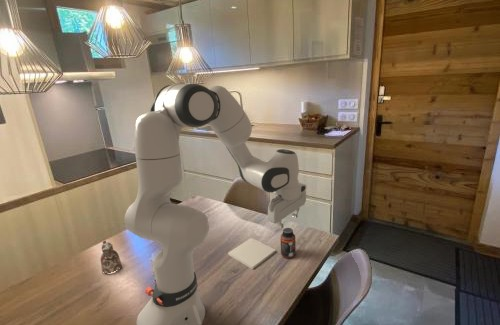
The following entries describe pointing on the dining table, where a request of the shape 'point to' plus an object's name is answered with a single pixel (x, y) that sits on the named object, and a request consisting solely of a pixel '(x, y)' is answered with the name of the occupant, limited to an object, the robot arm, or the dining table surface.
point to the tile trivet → (251, 253)
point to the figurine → (109, 258)
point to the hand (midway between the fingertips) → (287, 222)
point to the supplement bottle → (288, 243)
